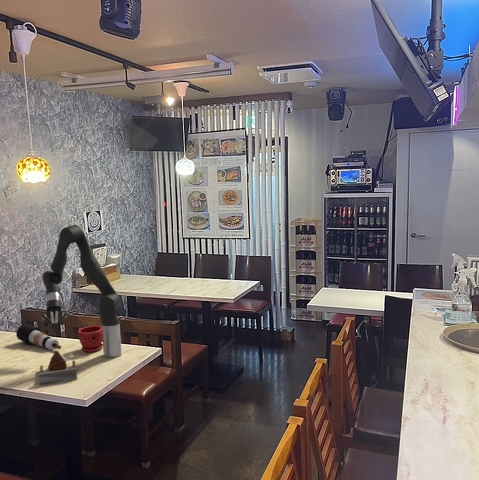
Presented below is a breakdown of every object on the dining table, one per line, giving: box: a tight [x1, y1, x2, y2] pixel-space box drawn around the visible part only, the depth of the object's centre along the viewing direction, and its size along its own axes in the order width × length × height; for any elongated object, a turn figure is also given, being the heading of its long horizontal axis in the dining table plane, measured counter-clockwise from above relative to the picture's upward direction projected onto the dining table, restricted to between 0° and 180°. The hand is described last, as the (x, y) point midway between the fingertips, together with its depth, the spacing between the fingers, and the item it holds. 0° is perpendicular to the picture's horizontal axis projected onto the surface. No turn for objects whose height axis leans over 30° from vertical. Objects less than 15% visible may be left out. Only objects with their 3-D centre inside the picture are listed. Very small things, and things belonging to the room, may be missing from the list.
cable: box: [15, 323, 62, 351], centre depth 273 cm, size 10×34×10 cm, turn 56°
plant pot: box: [78, 325, 103, 353], centre depth 265 cm, size 13×13×12 cm
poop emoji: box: [47, 350, 68, 371], centre depth 238 cm, size 10×8×9 cm
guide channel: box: [38, 360, 78, 386], centre depth 230 cm, size 20×16×5 cm
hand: (55, 330), depth 246 cm, fingers closed
